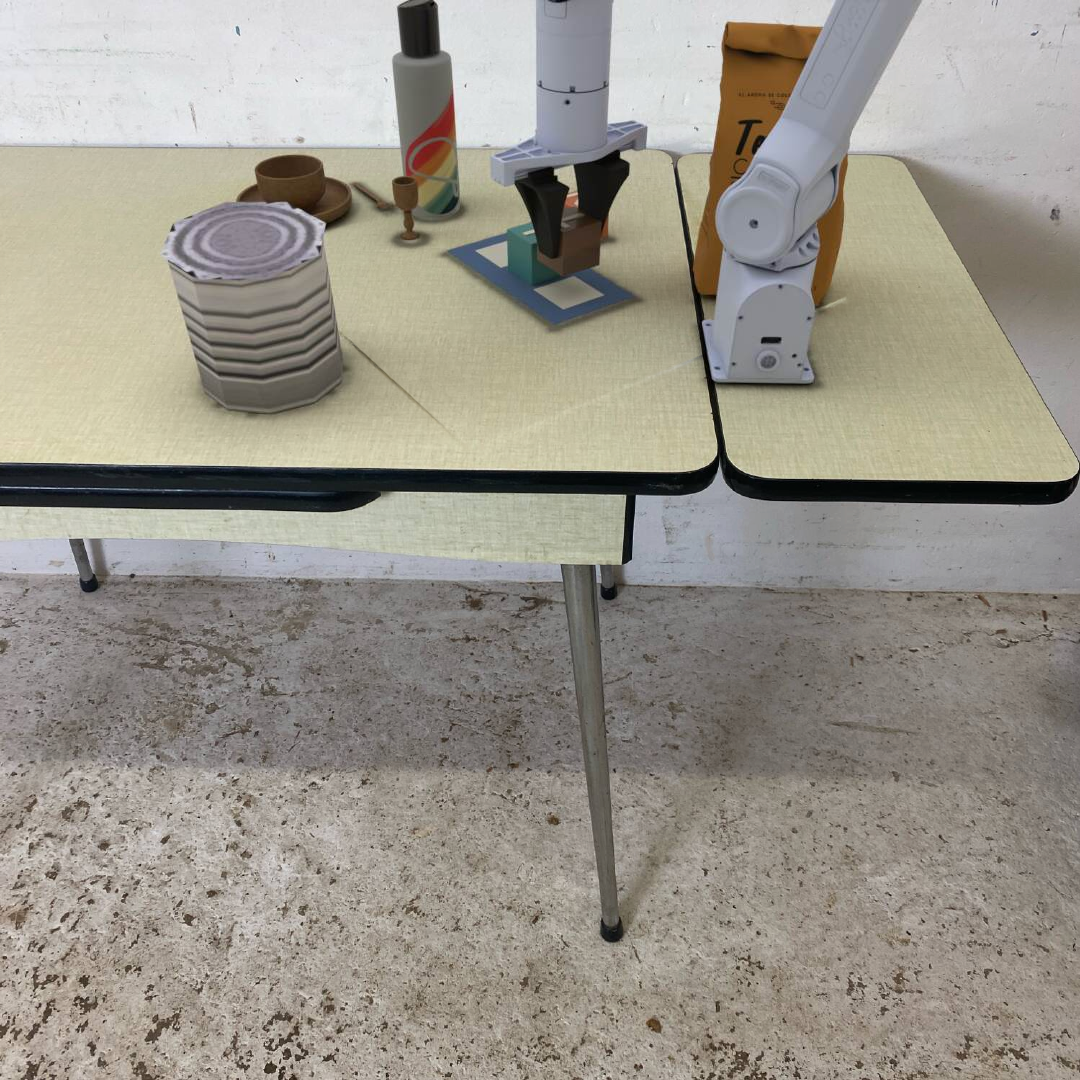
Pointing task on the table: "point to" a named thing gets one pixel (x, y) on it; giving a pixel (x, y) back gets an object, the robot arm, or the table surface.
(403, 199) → the place setting
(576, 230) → the brown letter t cube
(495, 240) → the word mat
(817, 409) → the table surface
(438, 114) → the lotion bottle
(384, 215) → the table surface
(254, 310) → the can
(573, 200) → the orange letter cube
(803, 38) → the coffee package
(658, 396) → the table surface
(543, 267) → the tile
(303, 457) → the table surface
